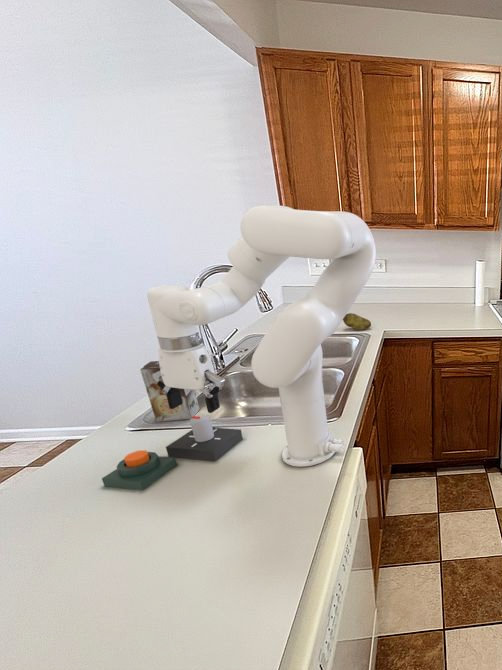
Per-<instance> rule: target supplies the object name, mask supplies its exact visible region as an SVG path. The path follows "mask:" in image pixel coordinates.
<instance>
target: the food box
mask: <svg viewBox="0 0 502 670" xmlns="http://www.w3.org/2000/svg"><path fill="white" fill-rule="evenodd" d="M139 371H140V374H141V377H142V380H143V383H144V387H145V390H146V393H147V396H148V399H149V402H150V406H151V409H152V413H153V415H154V419H155V422H156V423H158V422H159V423H160V422H161V423H162V422H168V421H169V422H171V421H180V420H190V419H191V417H192V416H197V414H198V412H199V411H200V405H199V402H198V398H197V394H196V390H191V389H180V388H176V389H179V390H180V394H181V398H182V402H183V403H182V404H181V405H179V406H178V407H176V408H174V409H170V408H169V404H168V400H167V396H166V394H164V393H163V391H162V390H163V389H161V388H160V387H159V386H158V385H157V382H156V381H155V380H154V378H153V377H152V374H154V373H156V372H158V371H160V364H159V360H155V361H152V360H151V361H149V362H147V363H146V364H145V365H144V366H143V367H142V368H140V369H139Z"/></svg>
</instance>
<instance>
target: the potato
mask: <svg viewBox="0 0 502 670" xmlns="http://www.w3.org/2000/svg"><path fill="white" fill-rule="evenodd" d="M342 321H343V323H344V324H345V326H347V327H348V328H351V329H353V330H357V331H362V330H368V329H369V328H371V326H372V321H370V320H369V319H368V318H365V317H363V316H360V315H358V314H356V313H352V312H351V313H350V312H348V313H347V314H346V315H345V317H344V318H343V320H342Z"/></svg>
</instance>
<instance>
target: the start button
mask: <svg viewBox="0 0 502 670" xmlns="http://www.w3.org/2000/svg"><path fill="white" fill-rule="evenodd" d="M148 452H149V451H147V450H143V449H142V450H136V451H132V452H130V453H128V454H127V455H126V456H124V458H123V460H125V463H126V466H127V467H135V466H139V465H142V464H144V463H146V462H148V461H149V460H150V458H149V455H148Z"/></svg>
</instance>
